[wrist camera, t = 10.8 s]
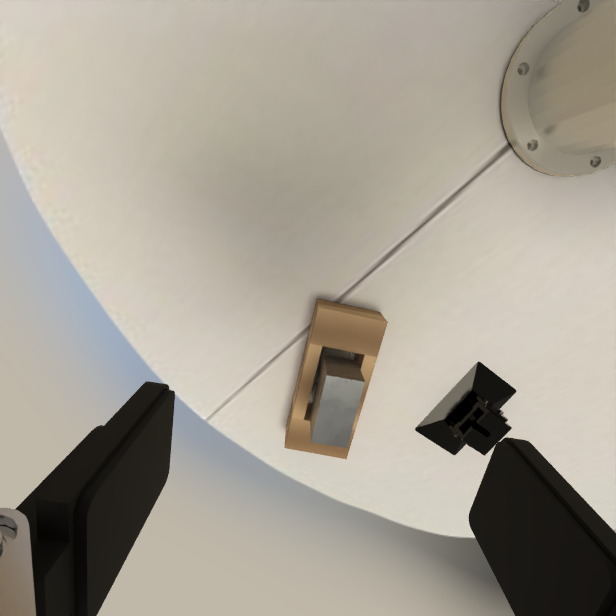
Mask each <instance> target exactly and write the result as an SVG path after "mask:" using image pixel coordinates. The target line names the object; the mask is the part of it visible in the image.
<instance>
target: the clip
mask: <svg viewBox="0 0 616 616" xmlns="http://www.w3.org/2000/svg"><path fill="white" fill-rule="evenodd" d="M364 384H365V380H364V378H363V375H362V372H361V370H360V367H359V364H358V362H357V360H352V357H351V354H350V352H349V351H344V350H339V349H334V348H330V347H325V346H324V347H323V351H322V356H321V367H320V371H319V376H318V380H317V382H315V386H314V390H313V395H312V400H313V402H312V406H311V410H310V437H311V443H318V444H324V445H330V446H336V447H342V448H347V447H348V443H349V440H350V436H351V432H352V429H353V425H354V421H355V418H356V414H357V410H358V407H359V403H360V399H361V396H362V392H363V388H364Z"/></svg>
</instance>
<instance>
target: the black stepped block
mask: <svg viewBox="0 0 616 616" xmlns="http://www.w3.org/2000/svg"><path fill="white" fill-rule="evenodd" d="M515 393H516V390H515V389H514V388H513V387H511V386H510V385H509V384H508V383H506V382H505V381H504V380H502V379H501V378H500V377H499V376H497V375H496V374H495V373H493V372H492V371H491V370H490V369H488V368H487V367H486V366H484V365H483V364H482V363H481V362H477V363H476V364H475V365H474V366H473V368H472V369H471V370H470V371H469V372H468V373H467V374H466V375H465V376H464V377H463V378H462V379H461V380H460V381H459V382H458V384H457V385H456V386H455V387H454V388H453V389H452V390H451V391H450V392H449V393H448V394H447V395H446V396H445V397H444V398H443V400H442V401H441V402H440V403H439V404H438V405H437V406H436V407H435V408H434V409H433V410H432V411H431V412H430V413H429V415H428V416H427V417H426V418H425V419H424V420H423V421H422V422H421V423H420V424H419V425H418V426H417V427H416V428H415V430H416V431H417V432H419V433H420V434H422V435H423V436H425V437H426V438H428V439H429V440H431V441H433V442H434V443H436V444H437V445H439V446H440V447H442V448H443V449H445V450H447V451H448V452H450V453H451V454H453V455H456V454H457V453H458V452H459V451H460V450H461V449H462V448H463V447H464V446H465V445H466V444H467V445H468V446H470V447H472V448H474V449H475V450H477V451H478V452H480V453H481V454H483V455H486V454H487V453H488V452H489V451H490V450H491V449H492V448H493V447H494V446H495V445H496V444H497V443H498V442H499V441H500V440H501V439H502V438H503V437H504V436H505V435H506V434H507V433H508V432H509V431H510V430H511V429H512V428H511V427H510V426H509V425H508V424H507V420H508V419H507V418H506V417H505V416H504V415H503V413H504V412H502V411H501V410H500V408H501V407H502V406H503V405H504V404H505V403H506V402H507V401H508V400H509V399H510V398H511V397H512V396H513V395H514V394H515Z"/></svg>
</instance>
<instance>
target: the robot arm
mask: <svg viewBox="0 0 616 616" xmlns="http://www.w3.org/2000/svg"><path fill="white" fill-rule="evenodd" d="M518 72H519V74H518ZM501 112H502V119H503V126H504V129H505V132H506V135H507V137H508V140H509V142H510V144H511V145H512V147H513V149H514V150H515V152H516V153H517V154H518V155H519V156H520V157H521V159H522V160H523V161H524V162H525V163H527V164H528V165H530V166H531V167H533V168H534V169H536V170H538V171H540V172H543V173H546V174H548V175H554V176H561V177H566V176H578V175H584V174H590V173H593V172H596V171H599V170H602V169H605V168H607V167H609V166H610V165H612V164H614V163H616V0H567V1H565V2H563V3H561V4H560V5H559V6H557V7H556V8H555V9H553V10H552V11H551V12H549V13H548V14H547V15H546V16H544V17H543V18H542V19H541V20H540V21H539V22H538V23H537V24H536V25H535V26H533V27H532V29H531V30H530V31H529V32H528V34H527V35H526V36H525V37H524V39H523V40H522V41H521V43H520V45H519V46H518V48H517V50H516V52H515V53H514V55H513V57H512V59H511V62H510V64H509V67H508V70H507V72H506V75H505V79H504V84H503V89H502V101H501ZM527 145H528V148H527ZM174 400H175V392H174V391H171V390H169V386H168V385H167V384H161V383H154V382H145V383H144V384H143V385H142V386H141V387H140V388H139V389H138V390H137V392H136V393H135V394H134V395H133V396H132V397H131V398H130V399H129V400H128V401H127V402H126V403H125V404H124V405H123V406H122V408H120V410H119V411H118V412H117V413H116V414H115V415H114V416H113V417H112V418H111V419H110V420H109V421H108V422H107V423H106V425H105V426H102V425H101V426H98V427H96V428H95V429H94V430H92V431H91V432H90V433H89V434H88V435H87V436H86V437H85V438H84V439H83V440H82V442H81V443H80V444H79V445H78V446H77V447H76V448H75V449H74V450H73V451H72V452H71V453H70V454H69V455H68V456H67V457H66V458H65V459H64V460H63V461H62V462H61V463H60V464H59V465H58V466H57V467H56V468H55V469H54V470H53V471H52V472H51V473H50V474H49V475H48V476H47V477H46V478H45V479H44V480H43V481H42V482H41V484H40V485H39V486H38V487H37V488H36V489H35V490H34V491H33V492H32V493H31V494H30V495H29V496H28V497H27V498H26V499H25V500H24V501H23V502H22V503H21V504H20V505H19V506H18V507H17V508H16V509H15V510H14V509H10V508H0V616H96V615H97V614H98V612H99V610H100V608H101V606H102V604H103V602H104V600H105V598H106V596H107V594H108V593H109V591H110V589H111V587H112V585H113V583H114V581H115V579H116V577H117V575H118V573H119V571H120V570H121V568H122V565H123V564H124V562H125V560H126V558H127V556H128V554H129V552H130V550H131V548H132V547H133V545H134V542H135V541H136V539H137V537H138V535H139V533H140V531H141V529H142V527H143V525H144V523H145V521H146V520H147V518H148V516H149V514H150V512H151V510H152V508H153V506H154V504H155V502H156V500H157V499H158V497H159V495H160V493H161V491H162V489H163V487H164V485H165V483H166V480H167V477H168V474H169V467H170V466H169V465H170V453H171V440H172V427H173V414H174ZM469 524H470V527H471V529H472V531H473V533H474V535H475V537H476V539H477V541H478V543H479V545H480V547H481V549H482V551H483V553H484V555H485V557H486V559H487V561H488V563H489V565H490V567H491V569H492V571H493V573H494V574H495V576H496V579H497V581H498V583H499V584H500V586H501V588H502V590H503V592H504V594H505V596H506V598H507V600H508V602H509V604H510V606H511V608H512V610H513V612H514V614H515V616H616V533H615V532H614V531H613V530H612V529H611V528H610V527H609V525H608V524H607V523H606V522H605V521H604V520H603V519H602V518H601V517H600V516H599V515H598V514H597V513H596V512H595V511H594V510H593V509H592V507H591V506H590V505H589V504H588V503H587V502H586V501H585V500H584V499H583V498H582V497H581V496H580V495H579V494H578V493H577V492H576V491H575V490H574V488H573V487H572V486H571V485H570V484H569V483H568V482H567V481H566V480H565V479H564V478H563V477H562V476H561V475H560V474H559V473H558V472H557V471H556V469H555V468H554V467H553V466H552V465H551V464H550V463H549V462H548V461H547V460H546V459H545V458H544V457H543V456H542V455H541V454H540V453H539V451H538V450H537V449H536V448H535V447H534V446H533V445H532V444H531V443H530V442H528V441H526V440H520V439H514V438H504V439H503V440H502V441H501V442H498V443H497V444H496V446H495V448H494V451H493V453H492V456H491V459H490V461H489V464H488V466H487V469H486V471H485V474H484V477H483V479H482V482H481V484H480V487H479V489H478V492H477V495H476V497H475V500H474V502H473V505H472V507H471V510H470V513H469Z"/></svg>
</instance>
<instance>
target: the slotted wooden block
mask: <svg viewBox="0 0 616 616" xmlns="http://www.w3.org/2000/svg"><path fill="white" fill-rule="evenodd" d="M387 323H388V322H387V321H386V319H385V318H384V317H383V316H382V314H381V313H380V312H376V311H372V310H367V309H362V308H358V307H353V306H349V305H344V304H339V303H335V302H330V301H325V300H321V299H317V302H316V306H315V310H314V314H313V318H312V322H311V327H310V331H309V335H308V339H307V343H306V347H305V352H304V356H303V360H302V364H301V368H300V372H299V376H298V381H297V385H296V389H295V393H294V397H293V401H292V406H291V410H290V414H289V418H288V422H287V426H286V435H285V448H288V449H294V450H299V451H305V452H310V453H316V454H321V455H327V456H332V457H338V458H343V459H347V455H348V452H349V449H350V445H351V442H352V439H353V435H354V432H355V429H356V425H357V422H358V419H359V416H360V412H361V409H362V406H363V402H364V399H365V396H366V392H367V389H368V386H369V382H370V379H371V376H372V372H373V369H374V366H375V362H376V359H377V356H378V352H379V349H380V346H381V342H382V339H383V336H384V333H385V329H386V326H387ZM322 346H325V347H330V348H334V349H339V350H344V351H349V352H354V353H356V356H355V359H354V360H357V362H358V364H359V367H360V370H361V372H362V375H363V378H364V380H365V384H364V388H363V392H362V396H361V399H360V403H359V407H358V410H357V414H356V418H355V421H354V425H353V429H352V432H351V436H350V440H349V443H348V447H347V448H342V447H336V446H330V445H324V444H318V443H311V437H310V410H311V406H312V404H309V403H308V401H309V397H310V393H311V389H312V385H313V381H314V377H315V373H316V369H317V366H318V362H319V358H320V354H321V350H322Z"/></svg>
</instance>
